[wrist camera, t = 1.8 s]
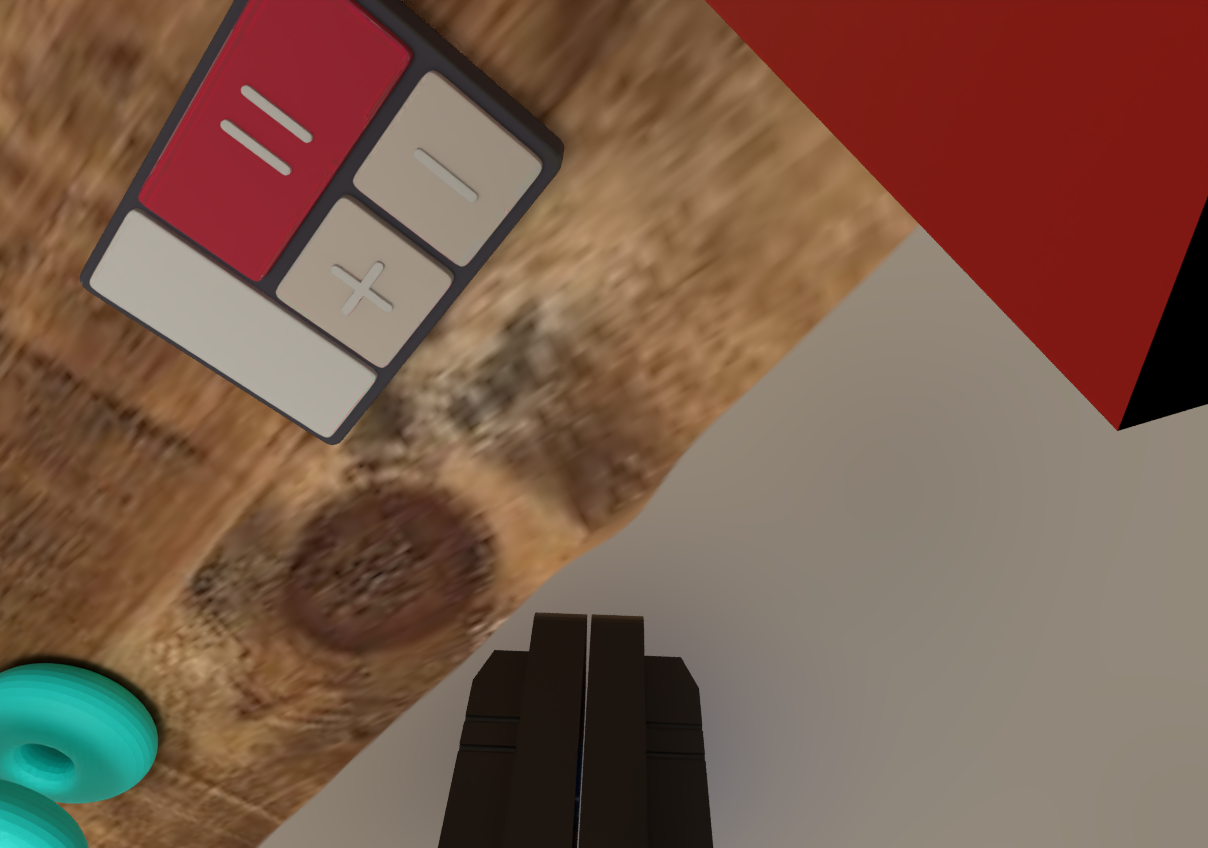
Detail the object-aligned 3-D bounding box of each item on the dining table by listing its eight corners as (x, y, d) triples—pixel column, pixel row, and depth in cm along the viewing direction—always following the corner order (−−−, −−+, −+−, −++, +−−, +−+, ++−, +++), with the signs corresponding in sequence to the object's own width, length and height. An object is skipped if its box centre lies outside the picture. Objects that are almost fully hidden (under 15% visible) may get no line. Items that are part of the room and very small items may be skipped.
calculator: (566, 166, 27) (329, 460, 33) (570, 142, 31) (356, 409, 36) (271, -87, 24) (61, 291, 29) (316, -80, 27) (122, 254, 33)
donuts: (-121, 927, 41) (-187, 809, 36) (8, 755, 50) (-30, 639, 45) (83, 950, 42) (47, 838, 37) (176, 776, 50) (157, 665, 45)
